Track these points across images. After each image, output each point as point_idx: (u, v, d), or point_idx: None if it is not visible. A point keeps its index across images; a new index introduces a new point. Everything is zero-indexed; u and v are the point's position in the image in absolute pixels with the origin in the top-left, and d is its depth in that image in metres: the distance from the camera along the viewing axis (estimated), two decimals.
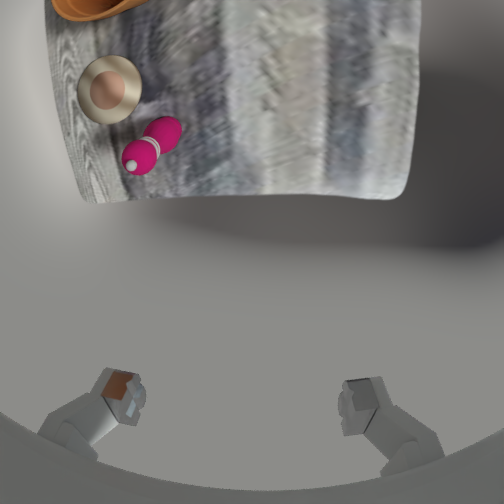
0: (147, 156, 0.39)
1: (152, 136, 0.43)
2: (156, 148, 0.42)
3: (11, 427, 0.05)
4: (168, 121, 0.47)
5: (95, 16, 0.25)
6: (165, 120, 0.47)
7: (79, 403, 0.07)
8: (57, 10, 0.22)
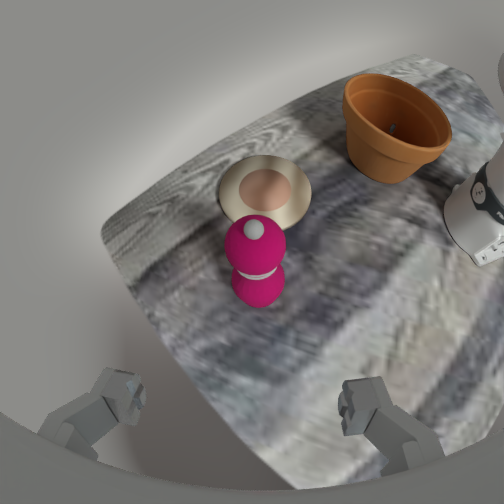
0: (276, 250, 0.25)
1: None
2: None
3: (11, 427, 0.05)
4: None
5: (368, 121, 0.36)
6: None
7: (79, 403, 0.07)
8: (347, 87, 0.39)
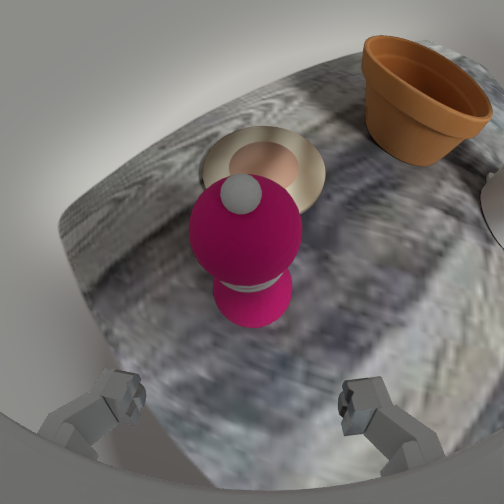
0: (286, 238, 0.13)
1: None
2: None
3: (11, 427, 0.05)
4: None
5: (399, 78, 0.24)
6: None
7: (79, 403, 0.07)
8: (367, 43, 0.27)
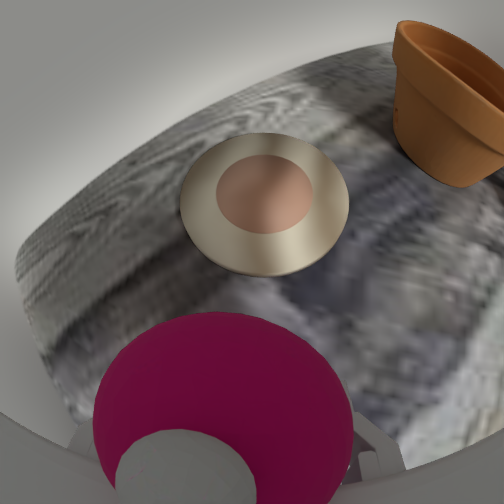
0: None
1: None
2: None
3: (11, 427, 0.05)
4: None
5: (453, 74, 0.14)
6: None
7: None
8: (400, 27, 0.18)
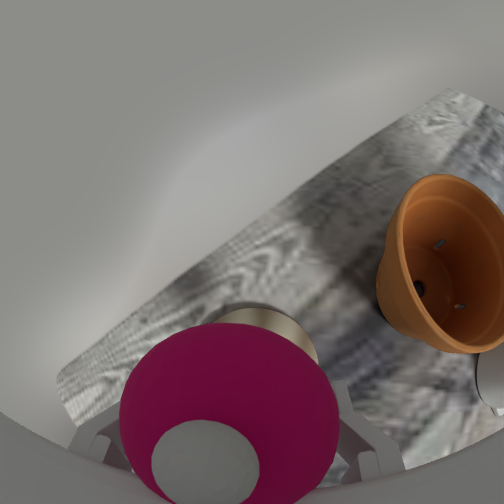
0: (308, 490, 0.04)
1: None
2: None
3: (11, 427, 0.05)
4: None
5: (427, 315, 0.21)
6: None
7: (113, 413, 0.07)
8: (401, 221, 0.24)
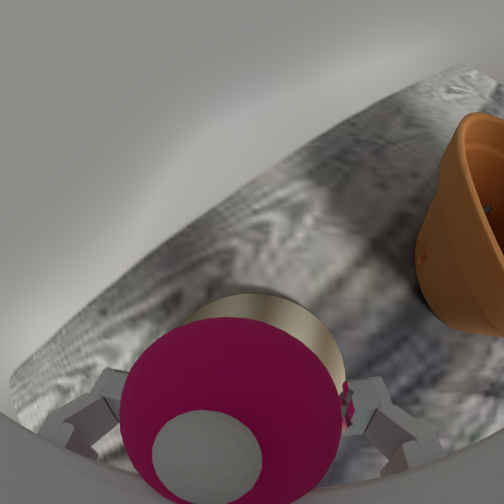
0: (310, 486, 0.04)
1: None
2: None
3: (11, 427, 0.05)
4: None
5: None
6: None
7: (79, 403, 0.07)
8: (463, 155, 0.13)
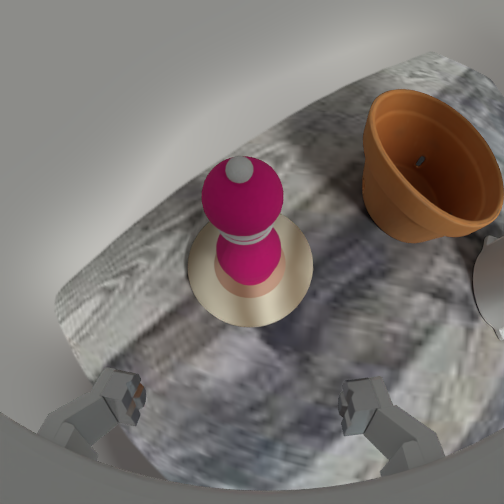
0: (270, 199, 0.18)
1: None
2: (267, 227, 0.22)
3: (11, 427, 0.05)
4: None
5: (406, 180, 0.24)
6: None
7: (79, 403, 0.07)
8: (372, 114, 0.27)
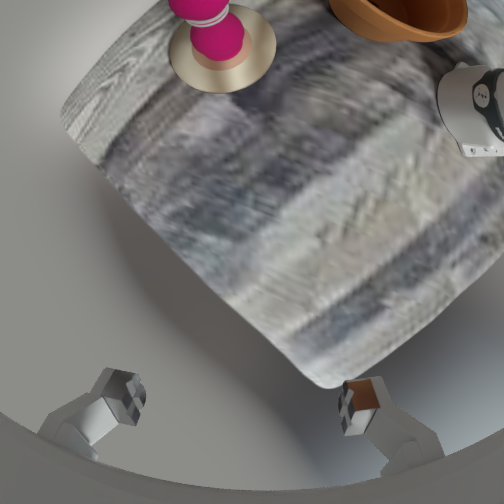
0: None
1: None
2: (220, 14, 0.20)
3: (11, 427, 0.05)
4: (243, 29, 0.27)
5: None
6: (242, 25, 0.27)
7: (79, 403, 0.07)
8: None
